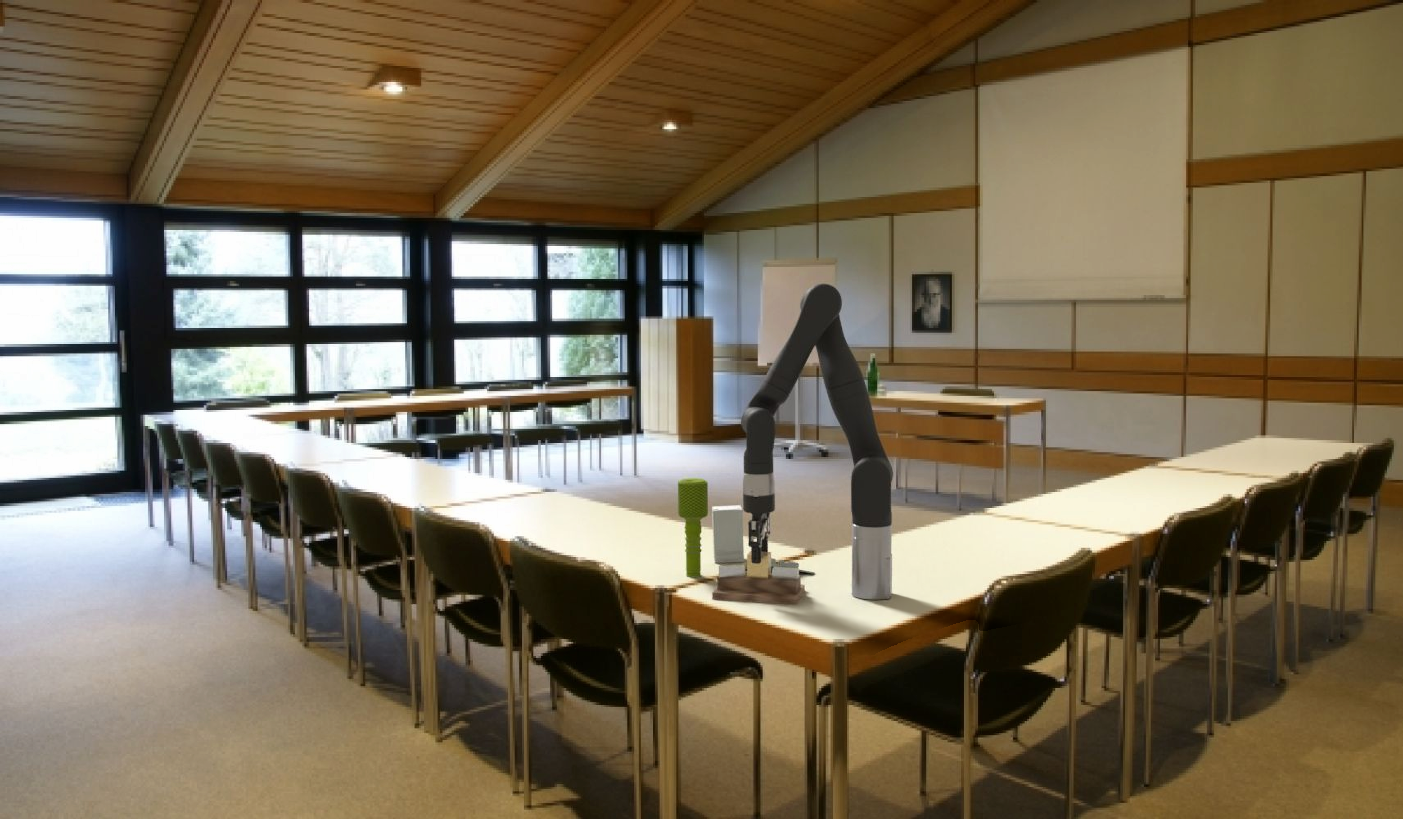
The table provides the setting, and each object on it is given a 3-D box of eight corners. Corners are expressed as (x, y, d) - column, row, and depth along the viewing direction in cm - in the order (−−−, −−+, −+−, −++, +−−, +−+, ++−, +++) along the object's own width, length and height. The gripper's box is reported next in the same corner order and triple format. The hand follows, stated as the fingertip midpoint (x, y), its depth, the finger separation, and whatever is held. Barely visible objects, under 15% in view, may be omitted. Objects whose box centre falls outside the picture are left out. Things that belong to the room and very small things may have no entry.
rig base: (804, 590, 245) (804, 572, 244) (796, 604, 233) (796, 585, 233) (724, 585, 250) (724, 567, 250) (712, 598, 238) (712, 580, 238)
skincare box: (742, 557, 278) (742, 504, 277) (744, 563, 272) (744, 508, 271) (712, 558, 278) (711, 505, 277) (713, 563, 272) (712, 509, 271)
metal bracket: (788, 561, 251) (740, 552, 261) (785, 584, 251) (736, 575, 260) (818, 566, 262) (771, 558, 272) (815, 589, 262) (768, 579, 271)
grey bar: (798, 577, 240) (798, 568, 240) (795, 582, 236) (795, 572, 236) (720, 572, 245) (720, 563, 244) (716, 577, 241) (716, 568, 240)
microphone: (702, 580, 255) (701, 482, 253) (674, 577, 258) (673, 480, 255) (712, 572, 263) (712, 477, 260) (685, 570, 265) (684, 475, 263)
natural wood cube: (747, 577, 240) (747, 554, 240) (750, 573, 244) (750, 551, 243) (768, 578, 239) (767, 556, 238) (771, 574, 243) (771, 552, 242)
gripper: (749, 486, 247) (750, 551, 248) (736, 496, 233) (738, 565, 235) (779, 486, 245) (780, 552, 246) (769, 497, 231) (769, 566, 233)
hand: (759, 558), depth 240 cm, fingers open, 8 cm apart
